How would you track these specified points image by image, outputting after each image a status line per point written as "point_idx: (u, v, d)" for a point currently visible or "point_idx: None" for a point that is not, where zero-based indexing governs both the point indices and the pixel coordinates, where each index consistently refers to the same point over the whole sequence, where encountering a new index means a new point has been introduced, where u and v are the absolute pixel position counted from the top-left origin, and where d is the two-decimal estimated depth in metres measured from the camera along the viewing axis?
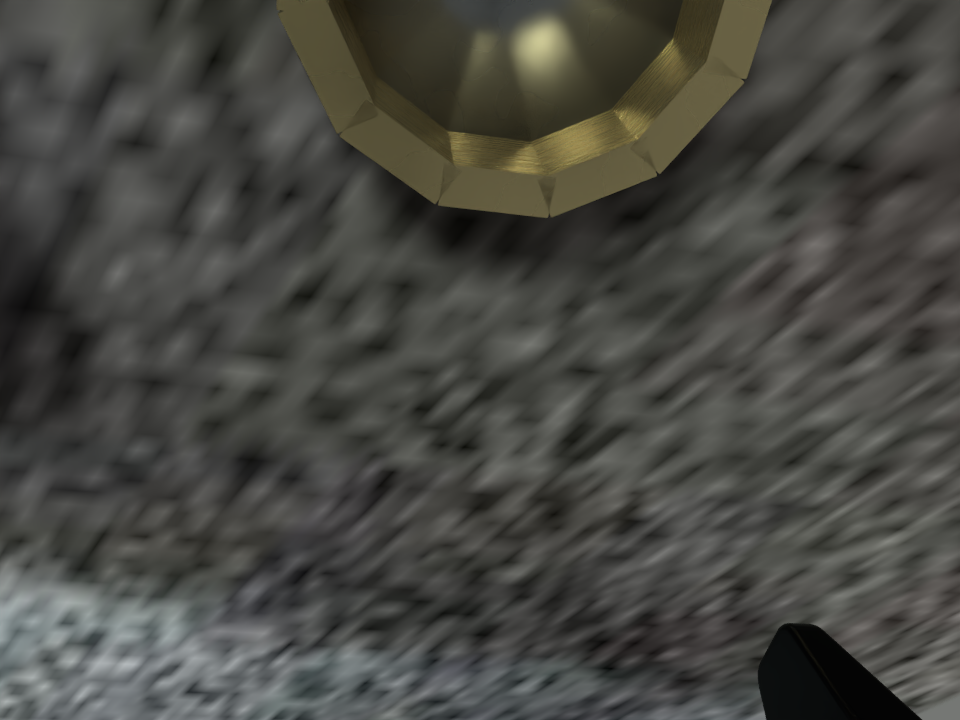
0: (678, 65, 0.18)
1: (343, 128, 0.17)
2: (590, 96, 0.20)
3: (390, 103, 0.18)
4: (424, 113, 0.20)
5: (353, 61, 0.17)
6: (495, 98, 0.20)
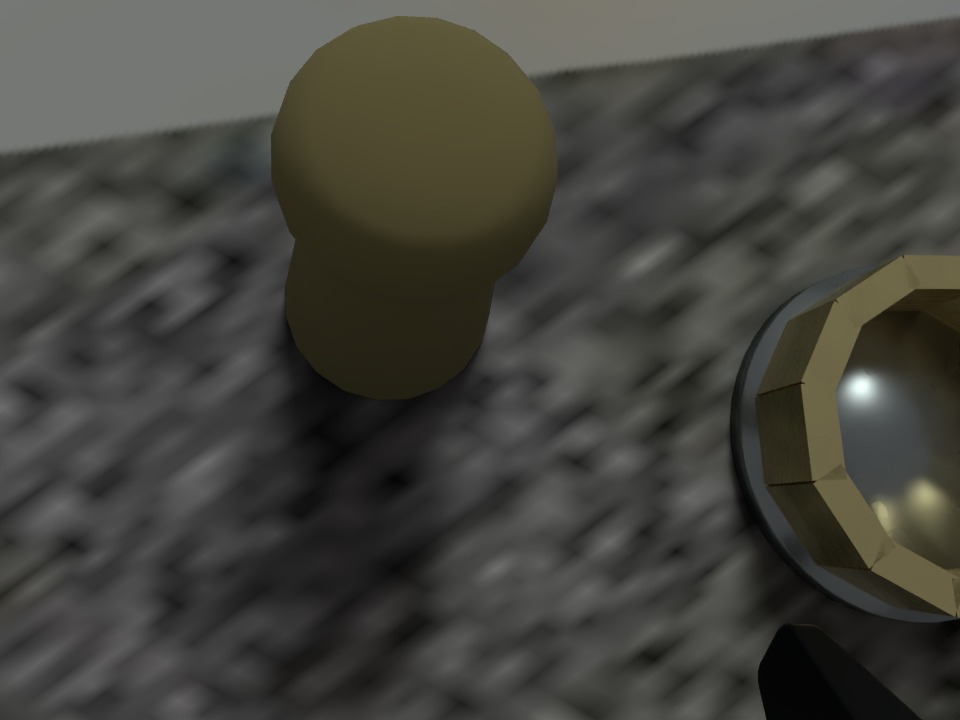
0: None
1: (817, 478, 0.21)
2: (946, 551, 0.24)
3: None
4: None
5: (840, 433, 0.22)
6: None
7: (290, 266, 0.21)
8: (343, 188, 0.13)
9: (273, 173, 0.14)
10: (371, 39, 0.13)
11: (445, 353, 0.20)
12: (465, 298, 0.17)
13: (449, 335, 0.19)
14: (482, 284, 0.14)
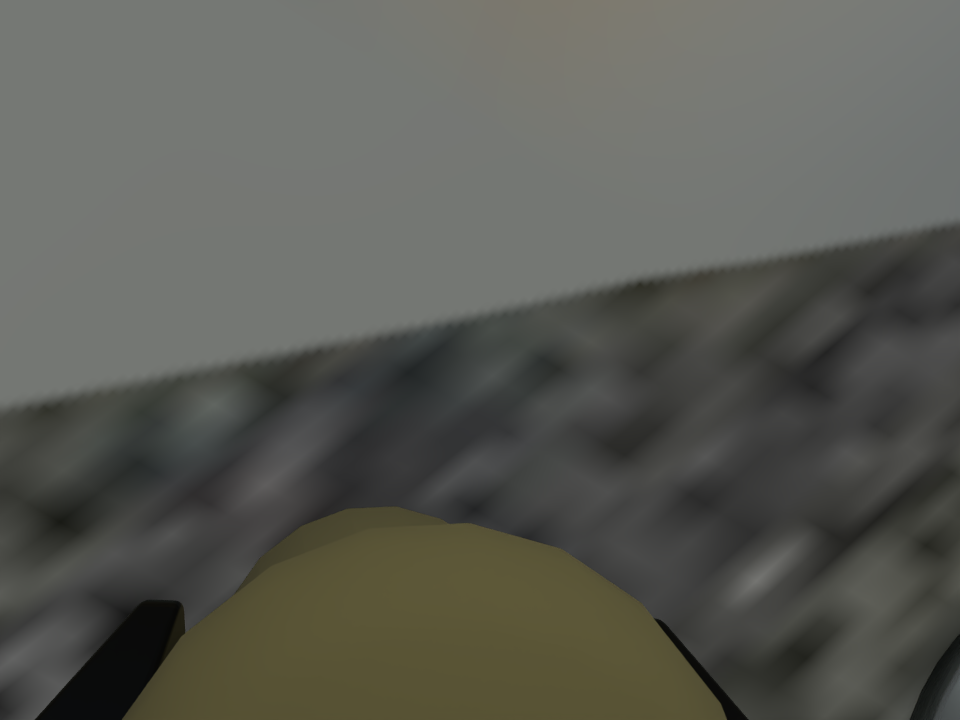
0: None
1: None
2: None
3: None
4: None
5: None
6: None
7: None
8: None
9: None
10: (314, 699, 0.05)
11: None
12: None
13: None
14: None
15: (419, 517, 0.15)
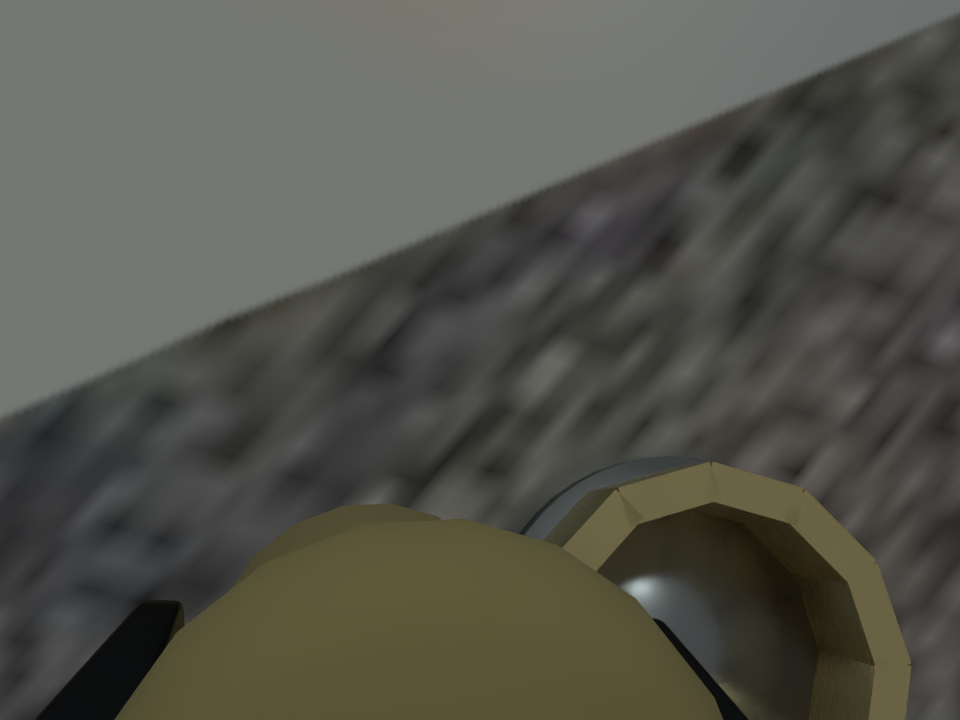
0: None
1: None
2: None
3: None
4: None
5: None
6: None
7: None
8: None
9: None
10: (310, 694, 0.05)
11: None
12: None
13: None
14: None
15: (414, 514, 0.15)
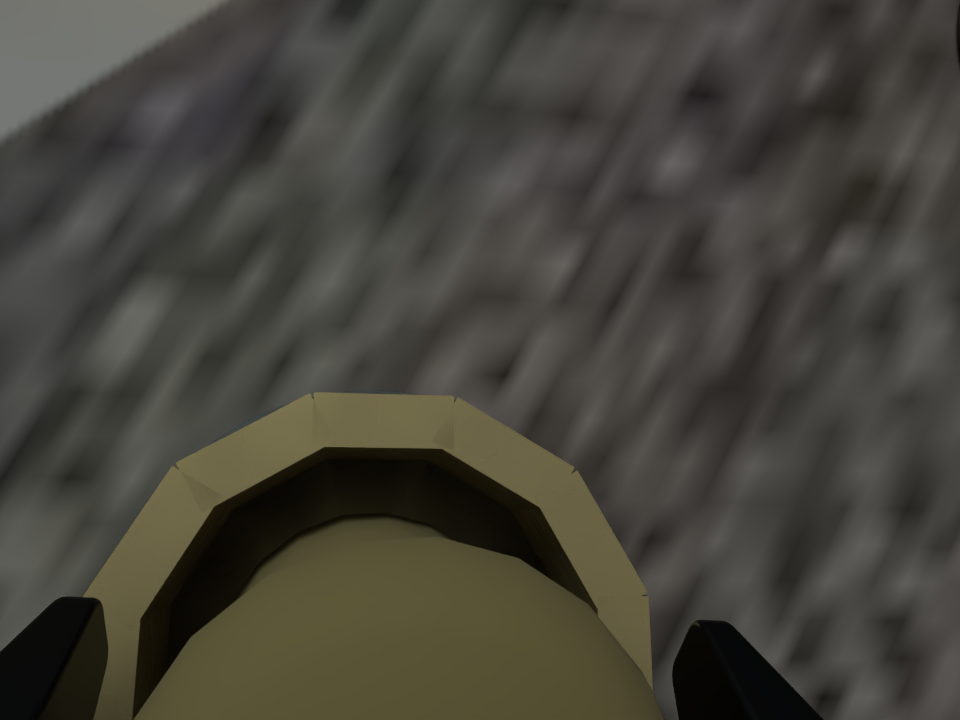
0: None
1: None
2: None
3: None
4: None
5: None
6: None
7: None
8: None
9: None
10: (301, 688, 0.06)
11: None
12: None
13: None
14: None
15: (408, 522, 0.16)
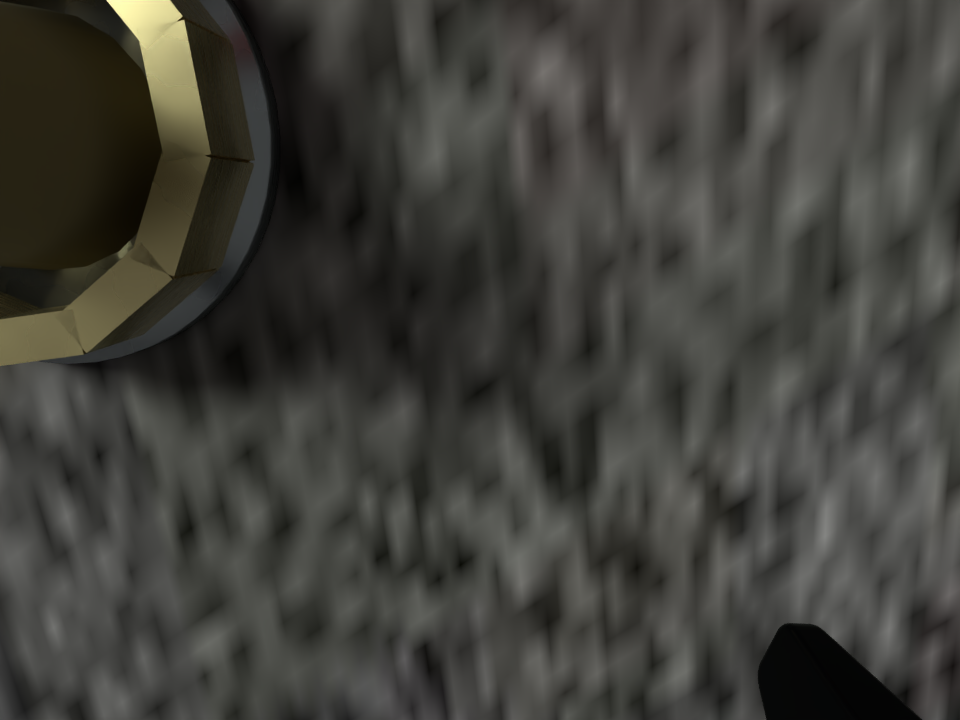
0: None
1: None
2: None
3: (20, 314, 0.18)
4: None
5: None
6: None
7: None
8: None
9: None
10: None
11: (65, 180, 0.16)
12: None
13: (13, 173, 0.15)
14: None
15: None
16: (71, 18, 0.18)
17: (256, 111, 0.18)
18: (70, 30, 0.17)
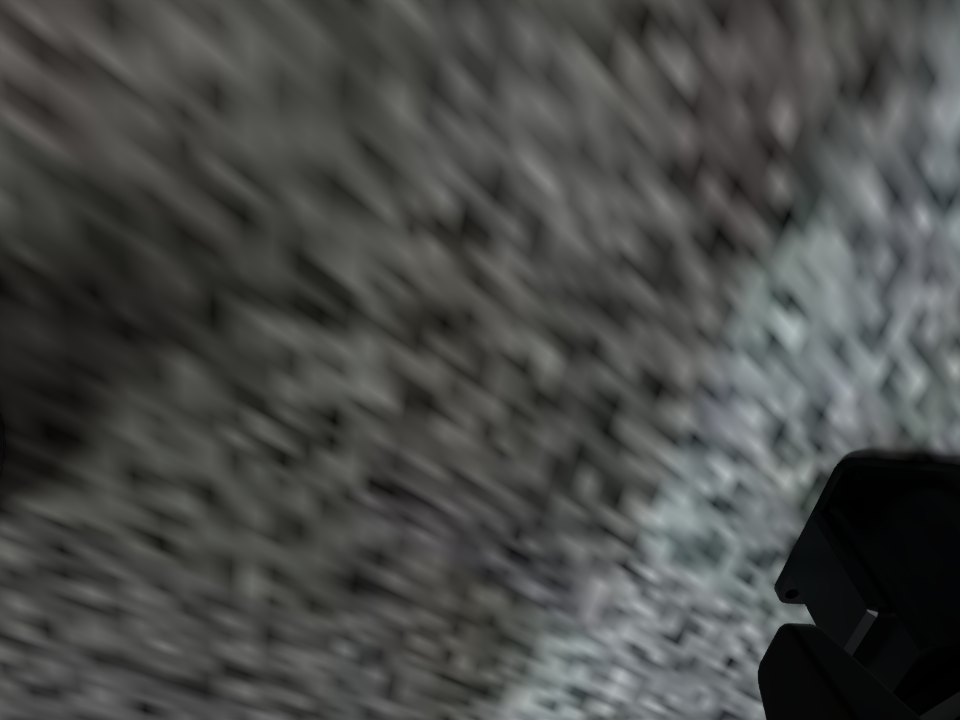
0: None
1: None
2: None
3: None
4: None
5: None
6: None
7: None
8: None
9: None
10: None
11: None
12: None
13: None
14: None
15: None
16: None
17: None
18: None
